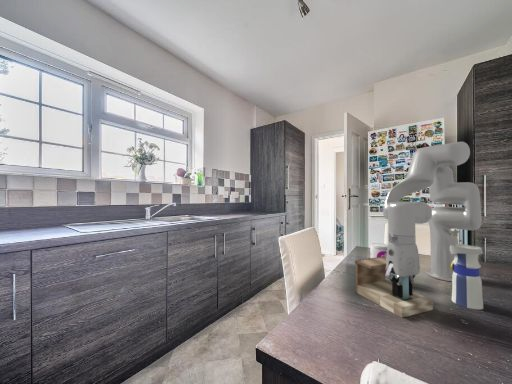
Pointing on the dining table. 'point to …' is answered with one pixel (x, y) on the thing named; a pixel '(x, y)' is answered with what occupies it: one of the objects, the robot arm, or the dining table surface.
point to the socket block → (386, 289)
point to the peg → (405, 288)
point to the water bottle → (466, 275)
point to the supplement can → (379, 253)
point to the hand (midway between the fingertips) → (402, 294)
